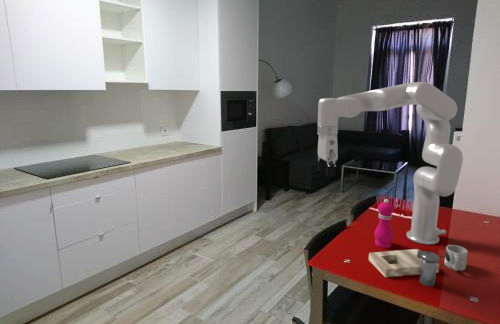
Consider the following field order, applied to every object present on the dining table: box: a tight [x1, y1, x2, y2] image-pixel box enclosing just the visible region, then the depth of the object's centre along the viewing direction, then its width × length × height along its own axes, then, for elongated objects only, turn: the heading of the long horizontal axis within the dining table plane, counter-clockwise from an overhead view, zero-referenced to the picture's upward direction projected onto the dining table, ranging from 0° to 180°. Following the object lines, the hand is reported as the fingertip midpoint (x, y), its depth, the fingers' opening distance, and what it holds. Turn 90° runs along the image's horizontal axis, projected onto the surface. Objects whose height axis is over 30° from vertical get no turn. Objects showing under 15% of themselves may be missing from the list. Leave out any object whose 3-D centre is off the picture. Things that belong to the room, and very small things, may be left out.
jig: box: [368, 248, 440, 278], centre depth 119 cm, size 20×12×5 cm, turn 98°
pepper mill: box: [374, 198, 395, 249], centre depth 134 cm, size 7×7×20 cm
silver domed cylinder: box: [419, 250, 440, 287], centre depth 108 cm, size 5×5×10 cm
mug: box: [443, 244, 469, 272], centre depth 117 cm, size 10×7×7 cm
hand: (325, 173), depth 129 cm, fingers open, 9 cm apart
